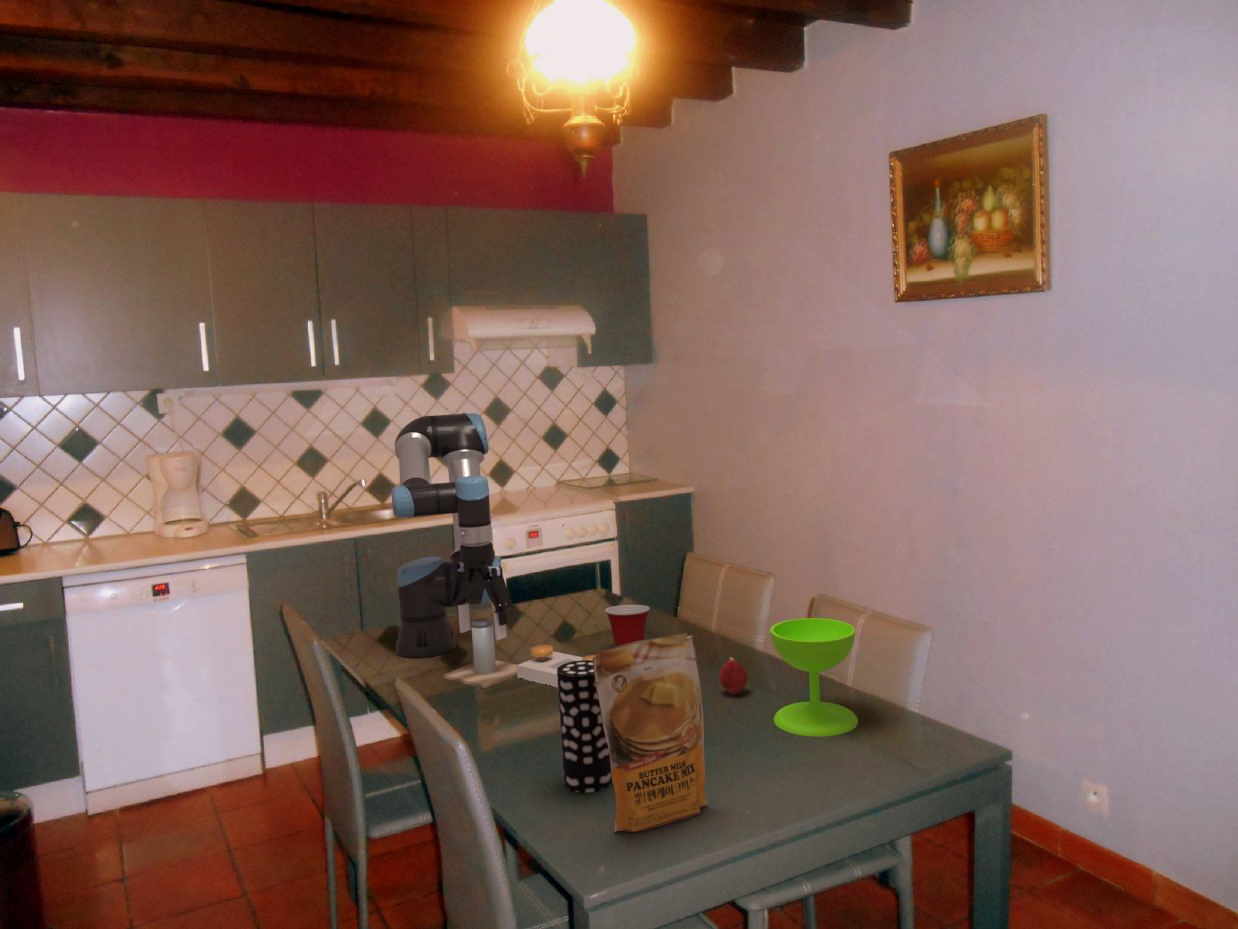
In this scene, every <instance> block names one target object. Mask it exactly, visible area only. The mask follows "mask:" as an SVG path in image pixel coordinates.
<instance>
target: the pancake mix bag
mask: <svg viewBox="0 0 1238 929" xmlns="http://www.w3.org/2000/svg"><path fill="white" fill-rule="evenodd" d="M594 655H595V656H594V657H593V669H594V677H595V684H596V690H597V693H598V697H599V703H600V710H601V717H602V723H603V728H604V733H605V737H606V740H607V744H608V748H609V752H610V763H611V775H612V781H613V782H612V784H613V789H614V794H615V802H616V803H615V804H616V812H615V813H616V814H615V822H614V829H613V832H615V833H616V832H622V831H623V832H630V833H637V832H643V831H646V830H650V829H654V828H657V827H662V826H664V825H667V824H671V823H673V822H677V821H680V820H685V819H689V818H690V817H694V816H697V815H700V814H701V809H702V808H704V807H705V806H706V805H708V801H707V797H706V791H705V784H706V783H705V780H706V778H705V776H706V775H705V774H706V772H705V770H706V769H705V768H706V767H705V765H706V764H705V761H706V760H705V746H704V745H705V744H704V743H705V740H704V739H705V733H704V732H705V730H704V729H705V728H704V727H705V726H704V722H705V718H704V715H705V714H704V709H703V700H704V699H703V690H702V689H703V688H702V681H701V676H700V670H699V665H698V655H697V649H696V644H695V639H694V635H688V631H685V632H684V631H683V632H680V631H679V632H676V633H672V634H671V633H670V634H666V635H663V636H659V637H654V638H649V639H644V640H641V641H636V642H632V643H628V644H624V645H620V646H616V645H615V646H612V647H609V648H606V649H603V650H599V651H598V652H597V653H596V654H594Z"/></svg>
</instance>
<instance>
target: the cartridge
mask: <svg viewBox="0 0 1238 929" xmlns="http://www.w3.org/2000/svg"><path fill="white" fill-rule="evenodd" d="M470 628H471V639H472V652H473V663H474V671H475V673H476V674H480V675H484V674H491V673H493V672H495V671H496V662H495V660H496V652H495V651H496V650H495V649H496V648H495V636H494V635H495V631H494V619H492V618H488V617H483V618H482V617H481V618H476V619H473V620H470Z"/></svg>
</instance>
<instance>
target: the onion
mask: <svg viewBox="0 0 1238 929" xmlns="http://www.w3.org/2000/svg"><path fill="white" fill-rule="evenodd" d="M718 677H719V683H720V684H721V686H722V687H723V688H724V689H725V690H726V691H727V692H729V694H730V695H732V696H733V695H737V694H738V693H739V692H741V691H742V690H743V689H744V688H745V687H746V685H747V684H748V674H747V671H746V670H745V668H744V667H743V665H742V664H741V663H740V662H738V661H736V659H734V657H732V656H729V661H728V662H727V663H725V664H724V665H723V666H722V668H721V669H720V672H719V676H718Z"/></svg>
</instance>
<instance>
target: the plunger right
mask: <svg viewBox="0 0 1238 929" xmlns="http://www.w3.org/2000/svg"><path fill="white" fill-rule="evenodd" d="M595 655H596V654H591V655H586V656H584V657H583V658H582V660H593V657H594V656H595Z"/></svg>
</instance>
